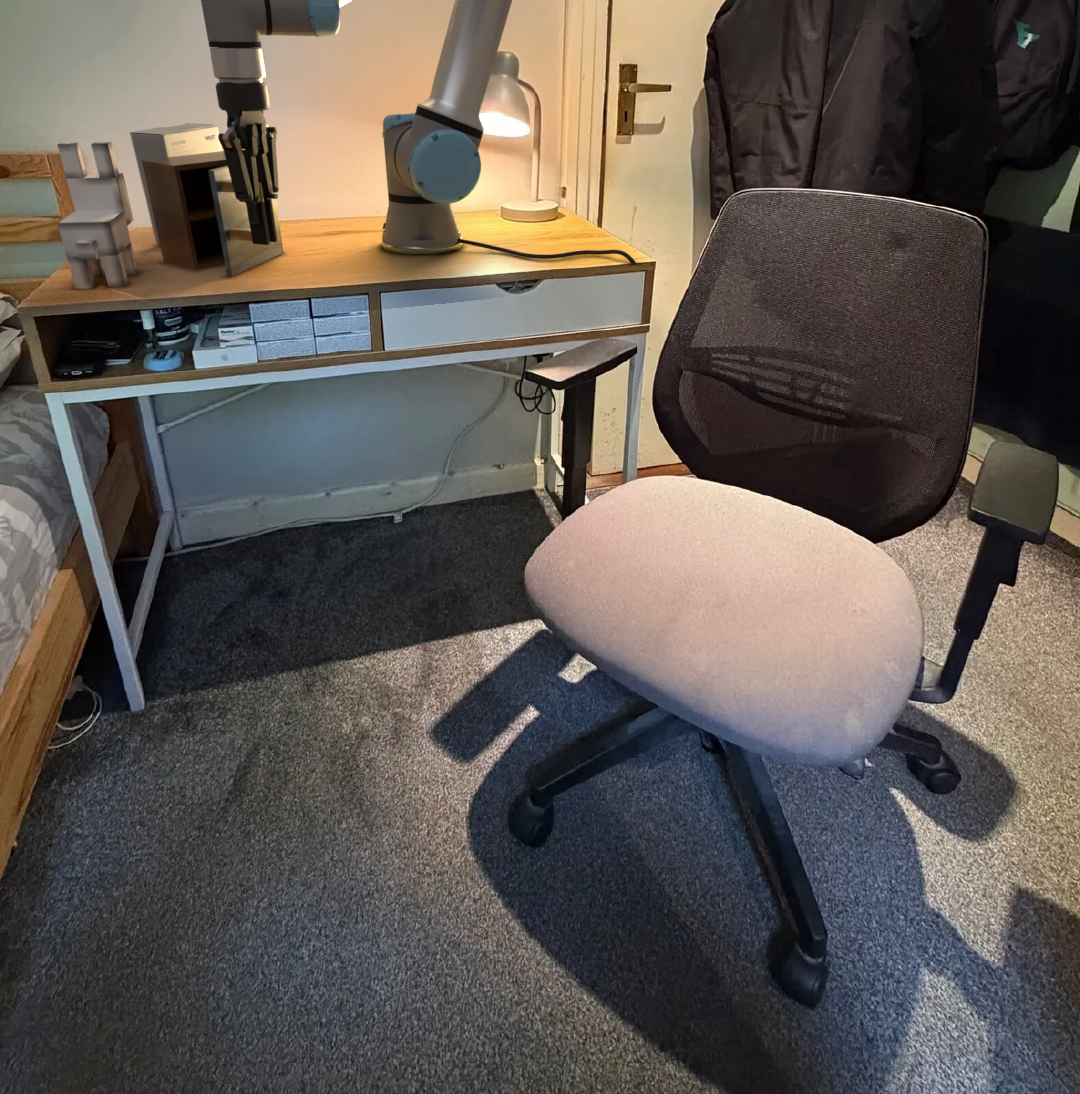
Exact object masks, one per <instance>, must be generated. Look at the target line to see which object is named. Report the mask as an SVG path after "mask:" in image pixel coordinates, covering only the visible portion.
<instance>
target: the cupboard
mask: <svg viewBox="0 0 1080 1094" xmlns="http://www.w3.org/2000/svg"><path fill="white" fill-rule="evenodd" d="M142 165H143V169H144V174H145V179H146V183H147V188H148V192H149V197H150V201H151V206H152V210H153V215H154V220H155V224H156V229H157V233H158V238H159V242H160V246H159V247H160V252H161V256H162V261H163V263H165V264H168V265H172V266H176V267H180V268H184V269H187V270H190V271H194V272H195V271H200V270H204V269H210V268H215V267H218V266H219V267H220V266H223V265H225V260H224V255H223V249H222V244H221V238H220V233H219V227H218V222H217V216H216V211H215V205H214V200H213V194H212V189H211V183H210V178H209V172H208V170H212V169H216V168H220V167H224V166H228V165H227V161H226V157H225V153H224V150H222V151H219V152H210V153H202V154H193V155H184V156H175V157H166V158H157V159H148V160H142Z"/></svg>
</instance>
